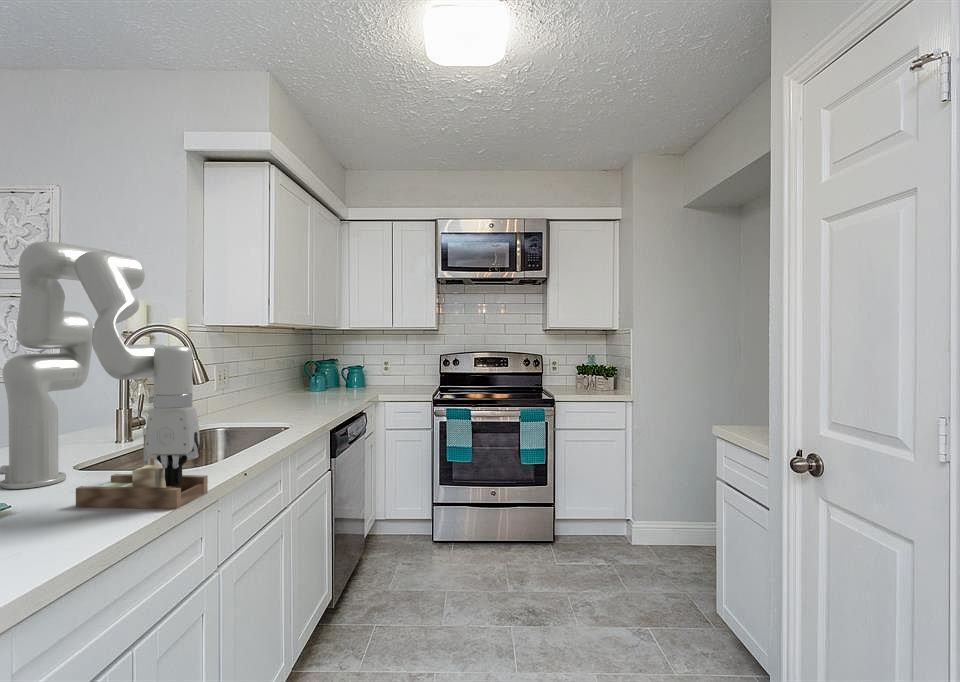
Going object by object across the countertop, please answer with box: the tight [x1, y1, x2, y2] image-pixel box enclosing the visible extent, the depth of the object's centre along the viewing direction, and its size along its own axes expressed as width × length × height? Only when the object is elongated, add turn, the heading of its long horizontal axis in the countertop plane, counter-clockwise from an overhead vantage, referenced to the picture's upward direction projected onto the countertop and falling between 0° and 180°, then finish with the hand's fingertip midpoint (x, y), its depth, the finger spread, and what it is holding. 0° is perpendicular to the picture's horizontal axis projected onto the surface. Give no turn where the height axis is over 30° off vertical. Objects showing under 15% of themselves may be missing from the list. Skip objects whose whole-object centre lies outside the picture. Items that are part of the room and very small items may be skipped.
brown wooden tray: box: [75, 473, 209, 510], centre depth 124 cm, size 22×12×4 cm, turn 87°
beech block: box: [131, 465, 166, 488], centre depth 124 cm, size 5×5×4 cm
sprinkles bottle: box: [142, 425, 162, 467], centre depth 141 cm, size 5×5×14 cm
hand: (173, 484), depth 124 cm, fingers closed
